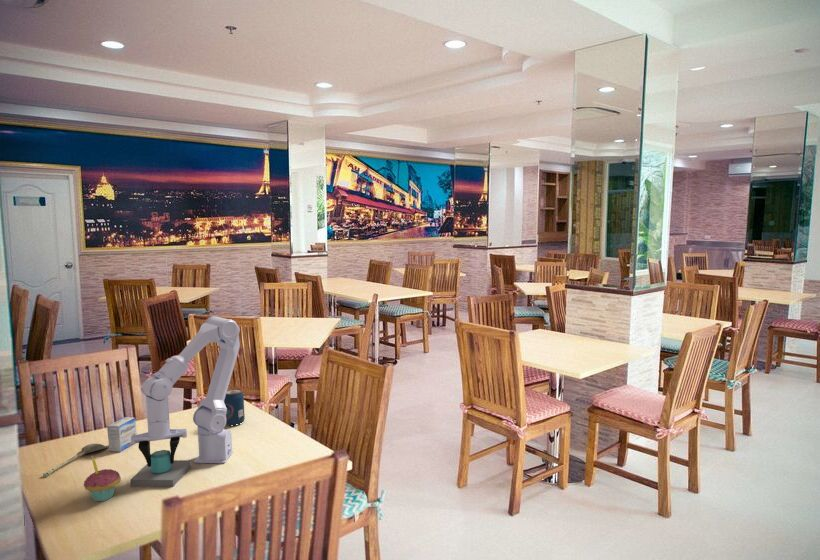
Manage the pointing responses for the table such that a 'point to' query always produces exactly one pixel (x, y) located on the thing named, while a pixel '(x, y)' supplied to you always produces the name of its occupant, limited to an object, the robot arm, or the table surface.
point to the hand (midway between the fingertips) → (161, 463)
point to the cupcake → (102, 483)
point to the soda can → (234, 406)
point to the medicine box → (121, 434)
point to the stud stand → (161, 475)
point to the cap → (160, 461)
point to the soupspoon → (84, 450)
